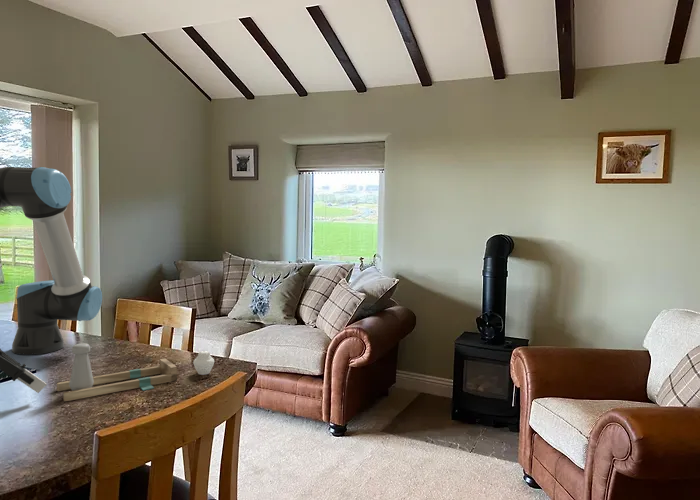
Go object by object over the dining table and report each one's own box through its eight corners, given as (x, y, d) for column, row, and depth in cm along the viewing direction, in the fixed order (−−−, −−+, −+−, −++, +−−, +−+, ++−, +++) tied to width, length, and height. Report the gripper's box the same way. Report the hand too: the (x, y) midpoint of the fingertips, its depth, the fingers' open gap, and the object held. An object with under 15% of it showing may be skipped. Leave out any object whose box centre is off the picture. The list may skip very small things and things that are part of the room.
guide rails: (55, 386, 142) (54, 372, 142) (161, 368, 160) (161, 355, 160) (66, 405, 129) (66, 389, 129) (180, 383, 148) (180, 369, 147)
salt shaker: (83, 396, 135) (82, 348, 134) (64, 394, 137) (63, 346, 136) (98, 389, 141) (97, 342, 140) (80, 387, 142) (79, 340, 141)
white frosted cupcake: (216, 374, 156) (216, 352, 155) (195, 377, 153) (196, 354, 152) (211, 368, 161) (211, 346, 161) (191, 371, 158) (191, 349, 158)
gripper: (-56, 337, 124) (26, 392, 136) (-56, 350, 114) (33, 408, 125) (-29, 313, 127) (49, 369, 138) (-26, 324, 117) (58, 383, 128)
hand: (42, 388), depth 132 cm, fingers closed
